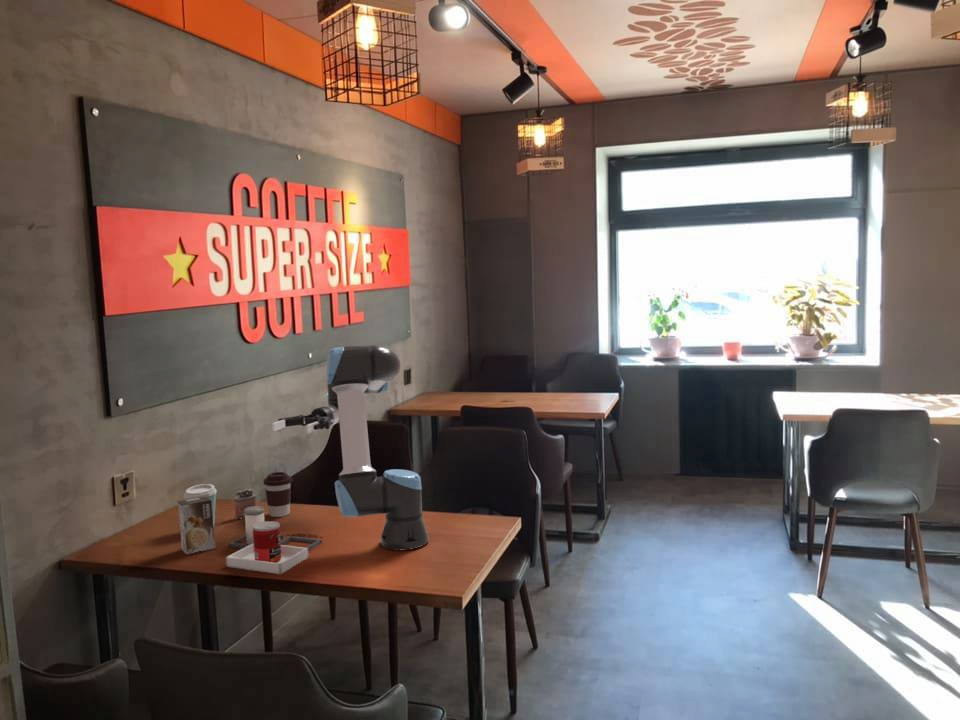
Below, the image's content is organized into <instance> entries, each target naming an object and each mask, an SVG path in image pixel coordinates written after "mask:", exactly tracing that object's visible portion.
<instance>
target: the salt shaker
mask: <svg viewBox="0 0 960 720" xmlns="http://www.w3.org/2000/svg"><path fill="white" fill-rule="evenodd" d="M244 514H245V519H244V521H245V535H246V540H245V541H246V545H247V544H248V545H251V544H253V543H254V541H253V525H255V524H257V523H260V522H266V521H265V506H262V505H261V506H260V505H256V506H253V507H248V508H246V509H244Z"/></svg>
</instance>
